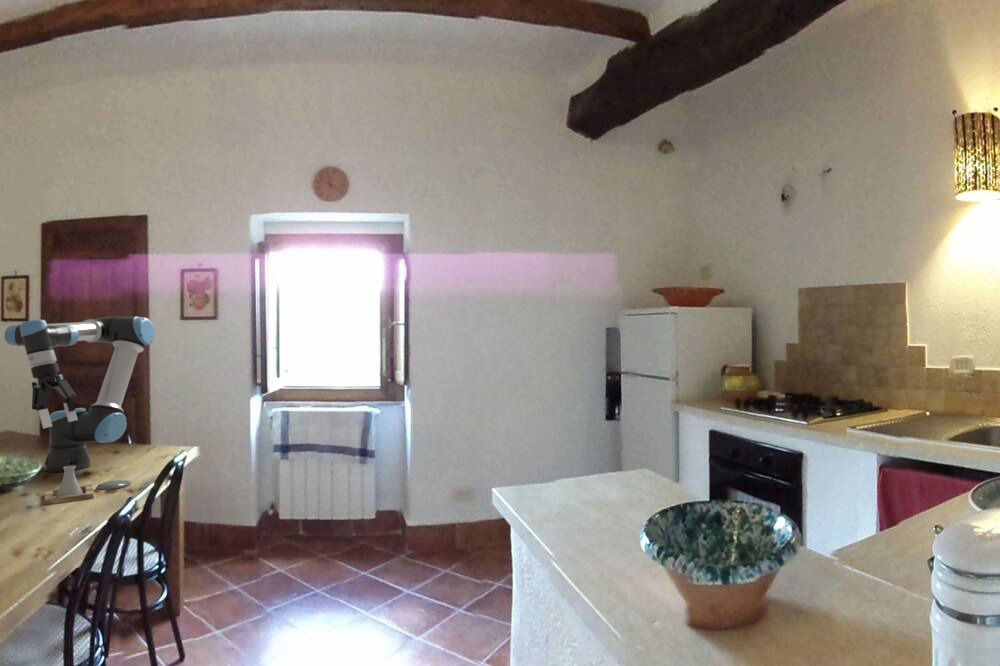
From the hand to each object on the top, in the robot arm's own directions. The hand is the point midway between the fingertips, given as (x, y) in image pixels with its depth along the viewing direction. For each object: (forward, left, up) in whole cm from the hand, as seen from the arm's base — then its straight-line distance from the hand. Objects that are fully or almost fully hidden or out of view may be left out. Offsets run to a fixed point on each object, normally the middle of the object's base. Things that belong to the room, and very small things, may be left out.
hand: (60, 424), depth 204 cm
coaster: (-6, +15, -23) cm, 28 cm away
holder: (+6, +7, -23) cm, 25 cm away
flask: (+6, +7, -23) cm, 25 cm away
